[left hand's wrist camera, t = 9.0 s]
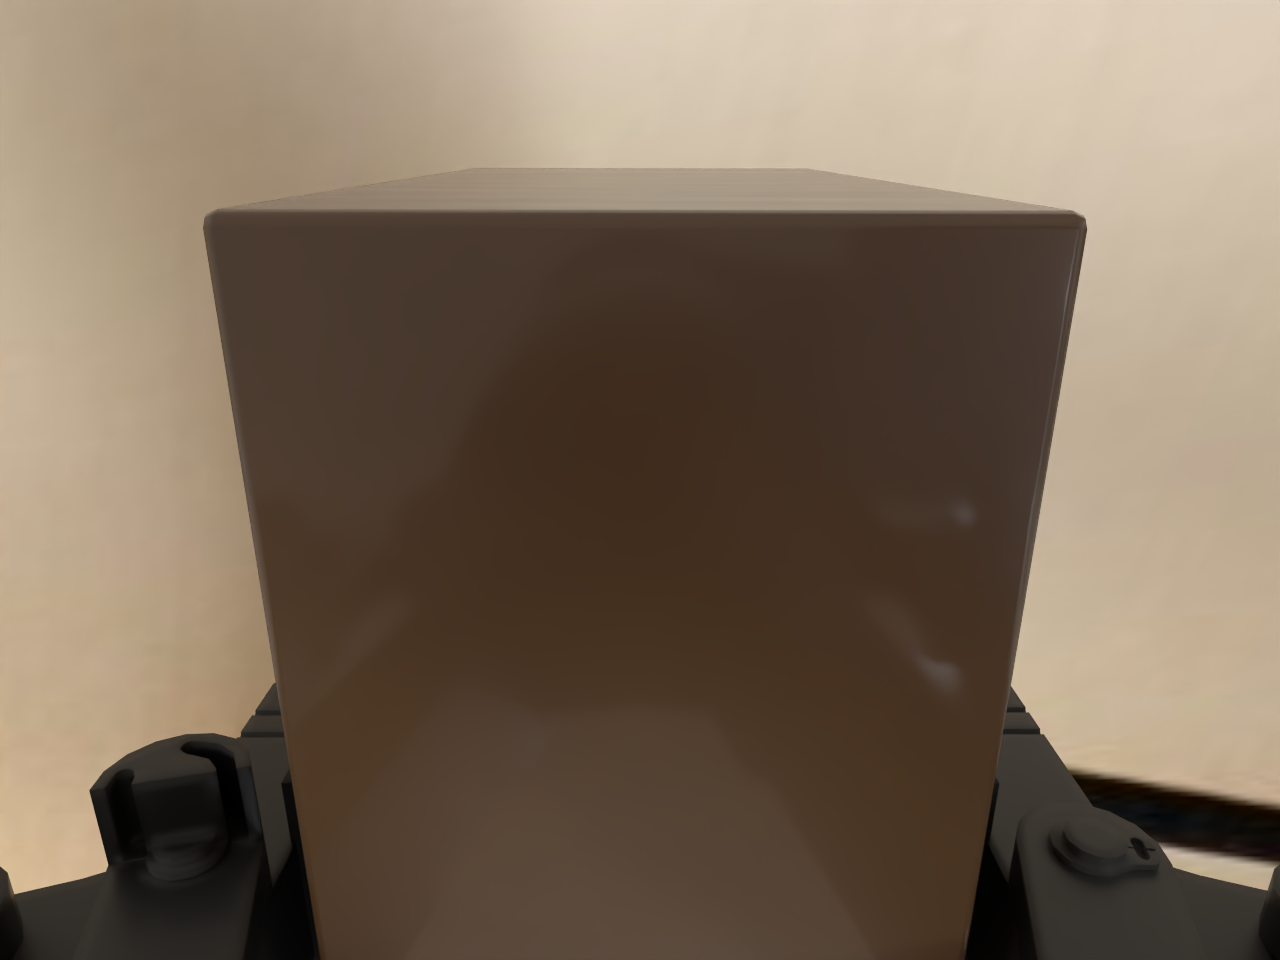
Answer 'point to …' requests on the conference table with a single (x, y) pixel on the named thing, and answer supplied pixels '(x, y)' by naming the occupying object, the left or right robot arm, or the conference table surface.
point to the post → (643, 549)
